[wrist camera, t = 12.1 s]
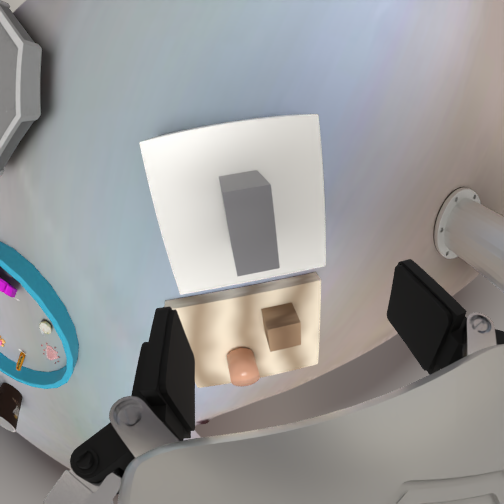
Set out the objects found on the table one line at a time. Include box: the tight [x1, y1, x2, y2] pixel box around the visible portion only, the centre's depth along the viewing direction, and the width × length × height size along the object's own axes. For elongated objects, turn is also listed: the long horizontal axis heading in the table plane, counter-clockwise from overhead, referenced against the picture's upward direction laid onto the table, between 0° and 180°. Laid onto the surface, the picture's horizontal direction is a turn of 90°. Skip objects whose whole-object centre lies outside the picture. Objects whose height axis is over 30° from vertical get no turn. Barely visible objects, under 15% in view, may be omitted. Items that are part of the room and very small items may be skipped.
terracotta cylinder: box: [226, 348, 260, 386], centre depth 37 cm, size 4×4×4 cm
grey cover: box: [140, 114, 326, 295], centre depth 24 cm, size 14×14×13 cm
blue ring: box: [0, 241, 79, 389], centre depth 30 cm, size 30×30×6 cm
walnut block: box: [261, 302, 301, 352], centre depth 34 cm, size 4×4×4 cm
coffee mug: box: [0, 383, 22, 432], centre depth 36 cm, size 12×9×10 cm
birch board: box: [164, 272, 321, 388], centre depth 39 cm, size 20×17×2 cm
